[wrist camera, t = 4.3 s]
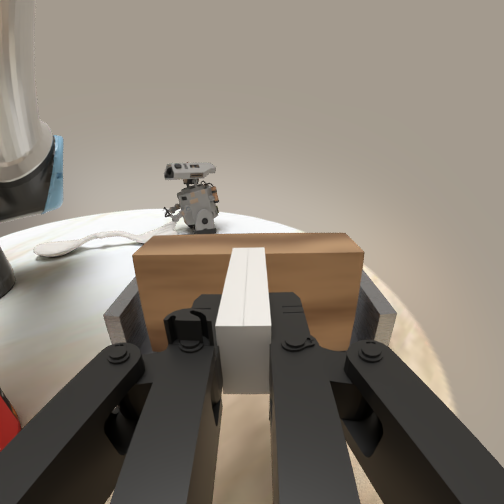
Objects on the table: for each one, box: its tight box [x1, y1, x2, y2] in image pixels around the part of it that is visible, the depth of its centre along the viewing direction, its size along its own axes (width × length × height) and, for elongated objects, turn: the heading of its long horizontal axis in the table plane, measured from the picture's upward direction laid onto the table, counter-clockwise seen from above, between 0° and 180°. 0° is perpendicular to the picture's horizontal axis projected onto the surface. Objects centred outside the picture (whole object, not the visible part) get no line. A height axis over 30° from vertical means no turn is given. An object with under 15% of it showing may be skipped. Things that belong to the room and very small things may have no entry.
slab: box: [132, 233, 364, 352], centre depth 24 cm, size 5×17×9 cm, turn 89°
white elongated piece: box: [34, 221, 177, 257], centre depth 51 cm, size 9×32×4 cm, turn 105°
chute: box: [103, 269, 397, 355], centre depth 28 cm, size 16×23×5 cm
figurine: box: [164, 162, 219, 235], centre depth 58 cm, size 9×12×15 cm
